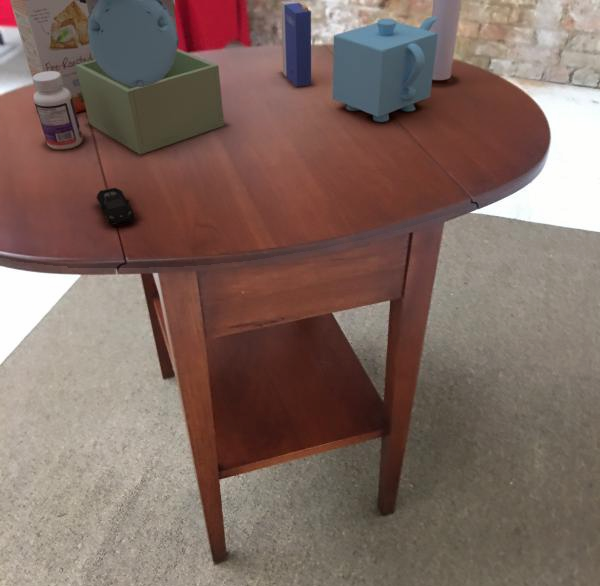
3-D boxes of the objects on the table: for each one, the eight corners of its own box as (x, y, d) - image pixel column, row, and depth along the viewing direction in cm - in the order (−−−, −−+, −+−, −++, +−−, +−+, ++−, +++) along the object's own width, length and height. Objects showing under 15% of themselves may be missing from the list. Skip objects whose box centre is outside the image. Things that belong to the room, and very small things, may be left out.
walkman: (311, 85, 113) (311, 8, 105) (296, 87, 113) (295, 10, 104) (297, 71, 119) (295, -3, 110) (282, 73, 118) (280, -1, 110)
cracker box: (57, 121, 104) (14, -31, 89) (40, 111, 107) (-4, -37, 92) (131, 98, 110) (102, -46, 95) (113, 89, 113) (83, -52, 99)
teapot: (389, 132, 98) (396, 40, 89) (322, 104, 107) (322, 17, 98) (463, 102, 107) (477, 15, 97) (395, 78, 115) (402, -4, 106)
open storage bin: (140, 155, 94) (127, 91, 88) (89, 124, 102) (74, 64, 96) (224, 125, 101) (218, 65, 95) (170, 99, 110) (161, 42, 103)
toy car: (138, 223, 80) (134, 208, 78) (110, 230, 79) (106, 214, 77) (122, 196, 85) (118, 181, 84) (96, 202, 84) (92, 187, 83)
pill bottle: (60, 134, 100) (41, 67, 93) (89, 137, 99) (73, 71, 92) (40, 148, 96) (19, 80, 90) (70, 152, 95) (51, 83, 88)
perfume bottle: (454, 86, 112) (474, -51, 98) (421, 85, 112) (437, -51, 98) (452, 74, 116) (471, -58, 102) (420, 74, 116) (435, -59, 102)
